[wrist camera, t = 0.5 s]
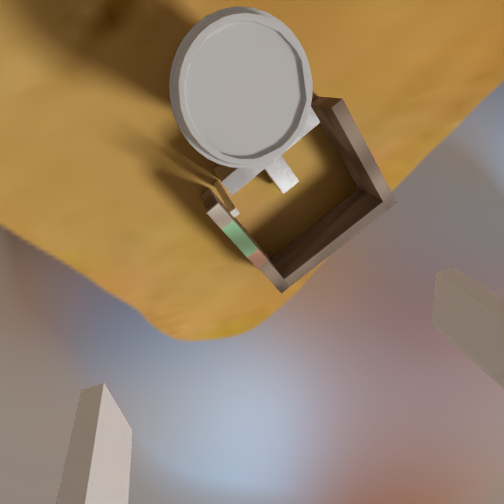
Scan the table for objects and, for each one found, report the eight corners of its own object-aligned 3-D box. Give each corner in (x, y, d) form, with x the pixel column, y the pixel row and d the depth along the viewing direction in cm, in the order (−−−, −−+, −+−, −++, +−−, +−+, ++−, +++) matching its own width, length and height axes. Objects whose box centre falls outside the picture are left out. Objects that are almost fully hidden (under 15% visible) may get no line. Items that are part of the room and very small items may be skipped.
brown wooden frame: (200, 196, 36) (206, 213, 31) (318, 96, 34) (344, 98, 30) (267, 271, 42) (281, 295, 37) (370, 189, 40) (398, 203, 36)
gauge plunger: (205, 174, 35) (220, 201, 27) (290, 103, 34) (330, 109, 26) (240, 215, 38) (263, 250, 30) (319, 150, 37) (364, 169, 29)
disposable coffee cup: (250, 155, 35) (290, 186, 25) (155, 128, 32) (155, 150, 22) (280, 53, 32) (342, 39, 21) (177, 11, 29) (190, -29, 18)
